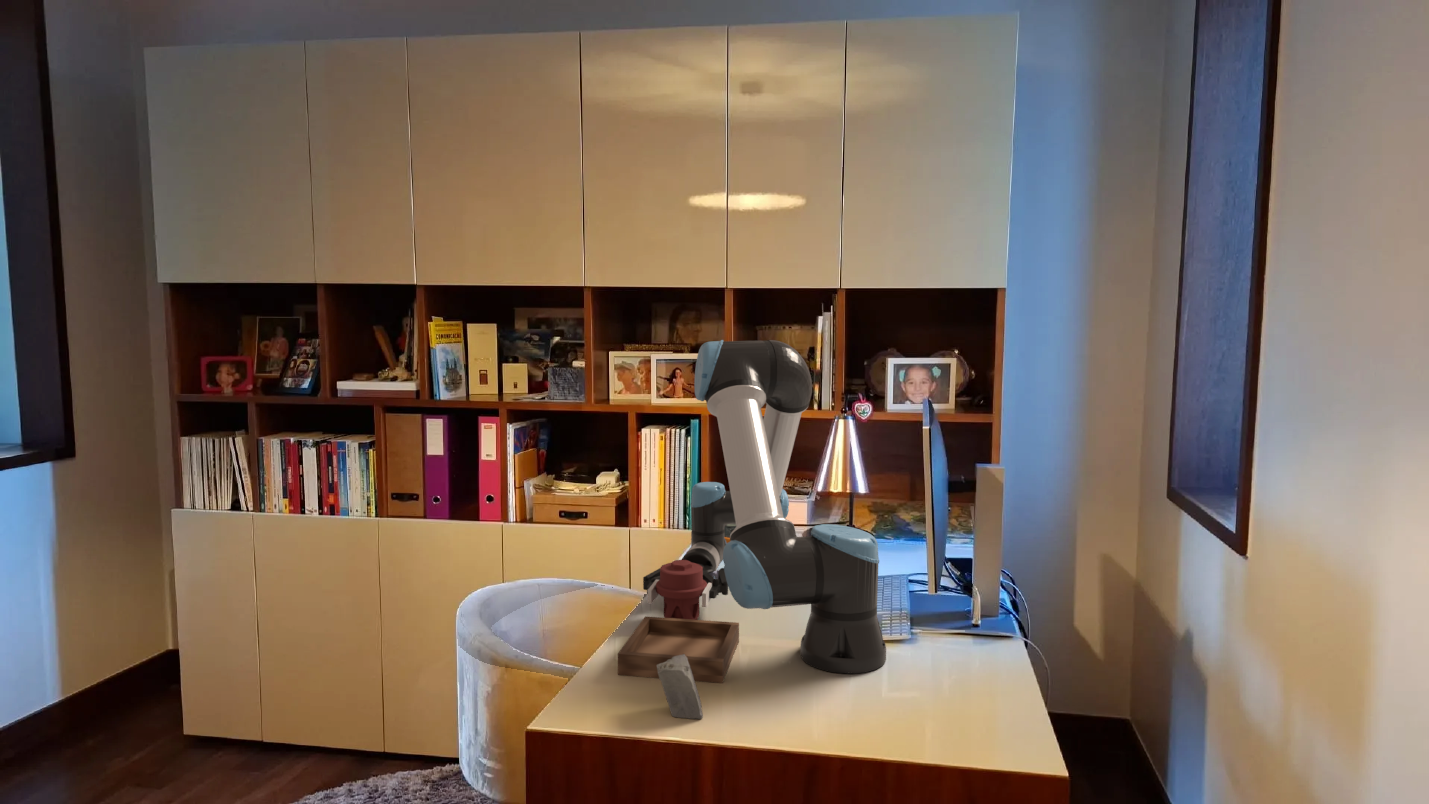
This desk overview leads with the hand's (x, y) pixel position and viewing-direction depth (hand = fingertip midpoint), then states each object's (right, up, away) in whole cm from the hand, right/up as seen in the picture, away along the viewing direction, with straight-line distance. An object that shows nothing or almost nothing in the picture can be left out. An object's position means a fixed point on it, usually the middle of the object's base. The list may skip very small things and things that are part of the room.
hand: (676, 598), depth 167 cm
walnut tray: (+1, -8, -12) cm, 14 cm away
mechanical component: (+1, -6, +5) cm, 8 cm away
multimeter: (+14, 0, +65) cm, 66 cm away
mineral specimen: (+2, -10, -32) cm, 33 cm away
